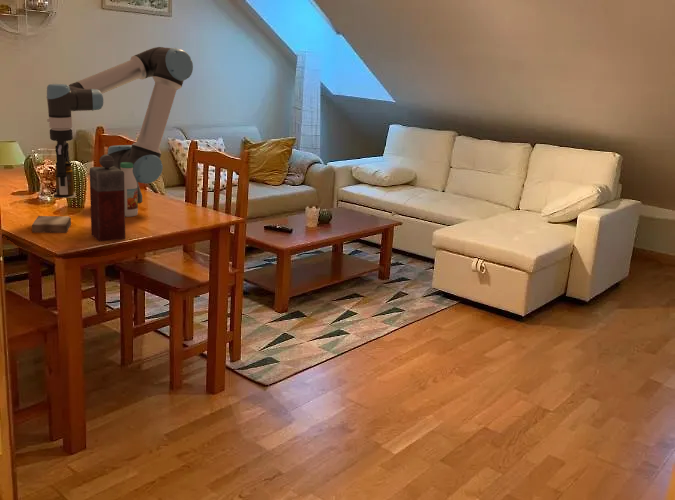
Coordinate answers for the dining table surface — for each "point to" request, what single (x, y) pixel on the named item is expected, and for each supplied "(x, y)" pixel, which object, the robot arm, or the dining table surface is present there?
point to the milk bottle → (130, 189)
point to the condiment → (69, 183)
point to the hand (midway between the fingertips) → (65, 192)
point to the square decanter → (107, 201)
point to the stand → (51, 224)
